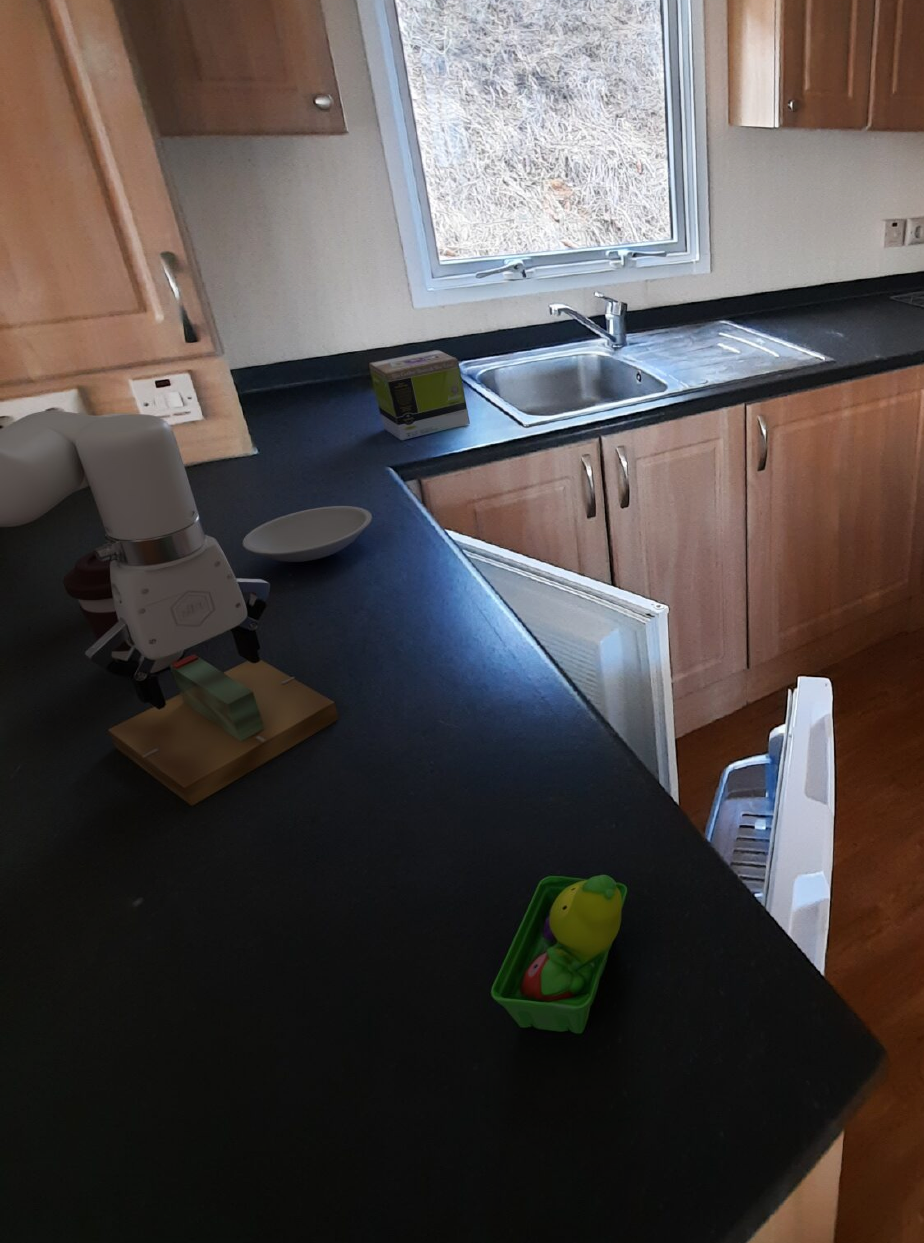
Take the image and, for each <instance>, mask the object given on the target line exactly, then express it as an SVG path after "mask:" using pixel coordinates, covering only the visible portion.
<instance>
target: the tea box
mask: <svg viewBox="0 0 924 1243" xmlns="http://www.w3.org/2000/svg"><path fill="white" fill-rule="evenodd" d="M368 366H369V373H370V376H371V380H372V383H373V384H372V385H373V388H374V392H375V397H376V401H377V405H378V406H377V407H378V410H379V414H380V419H381V422H382V426H383V428H384V430H386V431H387V432H388V433H390V434H391V435H392V436H394V437H395V438H396V439H398V440H399V441H405V440H409V439H414V438H417V437H421V436H425V435H429V434H435V433H438V432H442V431H446V430H450V429H454V428H458V427H462V426H467V425H470V424H471V422H470V417H469V412H468V405H467V400H466V394H465V390H464V385H463V380H462V374H461V369H460V364H459V359H458V358H456V357H454V356H451V355H450V354H447V353H445V352H443V351H441V350H439V349H434V350H430V351H424V352H419V353H414V354H409V355H404V356H399V357H393V358H389V359H384V360H378V361H373V362H369V363H368Z"/></svg>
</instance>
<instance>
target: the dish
mask: <svg viewBox="0 0 924 1243" xmlns="http://www.w3.org/2000/svg"><path fill="white" fill-rule="evenodd" d="M372 520H373V516H372V513H371V512H370V511H369V510H367V509H365V508H362V507H359V506H351V505H350V506H349V505H332V506H322V507H316V508H309V509H305V510H300V511H296V512H293V513H289V514H286V515H283V516H280V517H276V518H274V519H272V520H269V521H267V522H265V523H263V524H260V525H259V526H257V527H255V528H254V529H252V530H251V531H250V532H247V534H246V535H245V537H244V538H243V539H242V546H243V548H244V549H245V550H246V551H248V552H250V553H253V554H256V555H260V556H262V557H265V558H268V559H271V560H274V561H279V562H285V563H301V562H309V561H310V562H311V561H314V560H319V559H323V558H327V557H328V556H331V555H334V554H336V553H338V552H340V551H342V550H343V549H345V548H347V547H348V546H349V545H350V544H352V543H353V542H354V541H355V540H356V539H357V538H358V537H359V536H360V534H362V532H363V531H364V530H365V529H366V528H367V527H368V526H369V525H370V524H371V523H372Z"/></svg>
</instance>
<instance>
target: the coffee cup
mask: <svg viewBox="0 0 924 1243" xmlns="http://www.w3.org/2000/svg"><path fill="white" fill-rule="evenodd" d="M113 560H114V559H113ZM113 560H106V561H103V562H100V561H98V559H97V558H96V556H95V554H94V550H92V551H91V552H88V553H86V554H84V555H82V556H81V557H80V558H79V559H77V561H76V562H75V564H74V567H73V568H72V569H70V570H68V572H67V573H66V574H65V575H64V576H63V580H62V584H63V586H64V588H65V591H66V593H67V595H68V596H69V597H71V598H72V599H76V600H77V601H78V604H79V609H80V611H81V613H82V615H83V617H84V619H85V621H86V622H87V625H88V626H89V628H90V631H91V632H92V634H93V636H94V638H95V639H96V642H97V641H98V640H99V639H100V638H101V637H102V636H103V635H104V634H105V633H106V632H108V631H109V630H110V629H111V628H112V627H113V626H114V625H115V624H116V623H117V622H118V617H117V613H116V609H115V605H114V600H113V594H112V587H111V578H110V563H111V561H113ZM130 649H131V646H129V645H128V644H127V642H126V641H124V642H123V643H121V644H120V645H119V646H118V647H117V648H116V649H115V650H114V651H113V652H112V657H114V658H118V659H122V660H125V658H126V656H127V654H128V652H129V650H130ZM184 652H185V650H183V651H181V652H179V653H176V654H174V655H171V656H169V657H166V658H163V659H158V660H156V661H155V663H154V665H153V667H152V669H151V671H150V672H151V673H152V674H154V673H157V672H160V671H162V670H165V669H167V668H170V666H171V664H173V663H175V662H177V661H180V660H181V658H182V656H183V654H184Z"/></svg>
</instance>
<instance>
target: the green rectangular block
mask: <svg viewBox="0 0 924 1243" xmlns="http://www.w3.org/2000/svg"><path fill="white" fill-rule="evenodd" d="M169 668H170V671H171V673H172V676H173V679H174V681H175V684H176V686H177V689H178V692H179V694H181V697H182V700H183V702H184V703H185V704H187V705H188V706H190V707H191V708H193V709H194V710H196V711H197V712H199V713H200V714H201V715H203V716H204V717H206V718H207V719H209V720H210V721H212V722H213V723H215V724H216V725H217V726H219V727H220V728H222V729H223V730H225V731H226V732H228V733H229V734H231V735H232V736H233V737H235V738H236V739H238V740H239V741H243V740H245V739H247V738H248V737H250V736H252V735H254V734H256V733H257V732H259V731H261V730H263V729H265V727H264V724H263V721H262V718H261V715H260V712H259V709H258V706H257V703H256V700H255V697H254V694H253V691H251V690H250V689H248V688H247V687H245V686H243V685H242V684H240V683H239V682H237V681H235V680H234V679H232V678H231V677H229V676H227V675H226V674H224V672H222V671H221V670H219V669H218V668H216V667H214V666H213V665H211V663H208V661H205V660H204V659H202V658H201V657H199V656H198V655H195V654H194V653H193V654H190V655H188V656H186V657H184V658H182V659H179V660H178V661H177V662H175V663H173V664H171V666H169Z"/></svg>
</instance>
